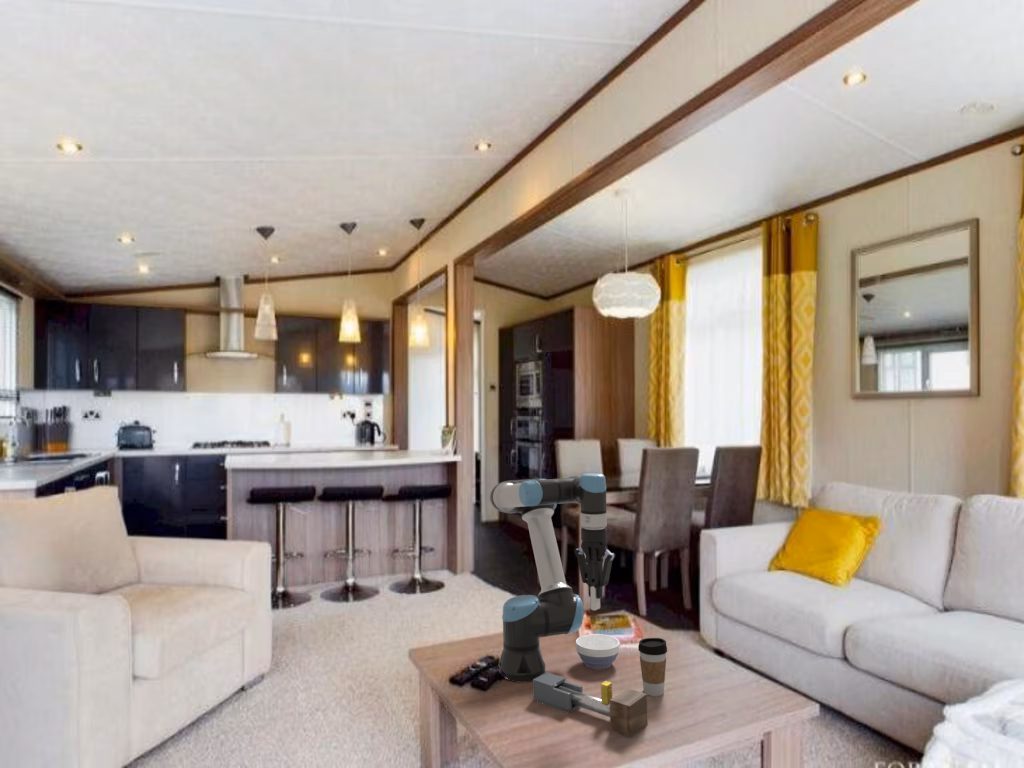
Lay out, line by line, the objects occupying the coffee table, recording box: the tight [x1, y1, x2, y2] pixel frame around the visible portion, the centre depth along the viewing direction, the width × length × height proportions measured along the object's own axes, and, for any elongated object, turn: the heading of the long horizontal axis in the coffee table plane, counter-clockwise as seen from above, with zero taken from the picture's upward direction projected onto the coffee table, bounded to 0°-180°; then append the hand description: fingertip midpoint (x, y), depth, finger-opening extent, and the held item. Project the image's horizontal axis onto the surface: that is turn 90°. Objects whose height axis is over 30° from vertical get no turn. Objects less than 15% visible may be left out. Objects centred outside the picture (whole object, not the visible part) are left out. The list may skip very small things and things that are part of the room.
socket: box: [609, 687, 648, 738], centre depth 175 cm, size 6×9×8 cm, turn 140°
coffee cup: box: [637, 637, 668, 697], centre depth 196 cm, size 8×8×15 cm
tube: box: [557, 680, 613, 718], centre depth 183 cm, size 22×4×9 cm, turn 50°
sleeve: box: [532, 671, 583, 714], centre depth 190 cm, size 13×7×6 cm, turn 50°
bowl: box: [575, 633, 621, 671], centre depth 217 cm, size 14×14×8 cm
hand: (595, 608), depth 191 cm, fingers closed
